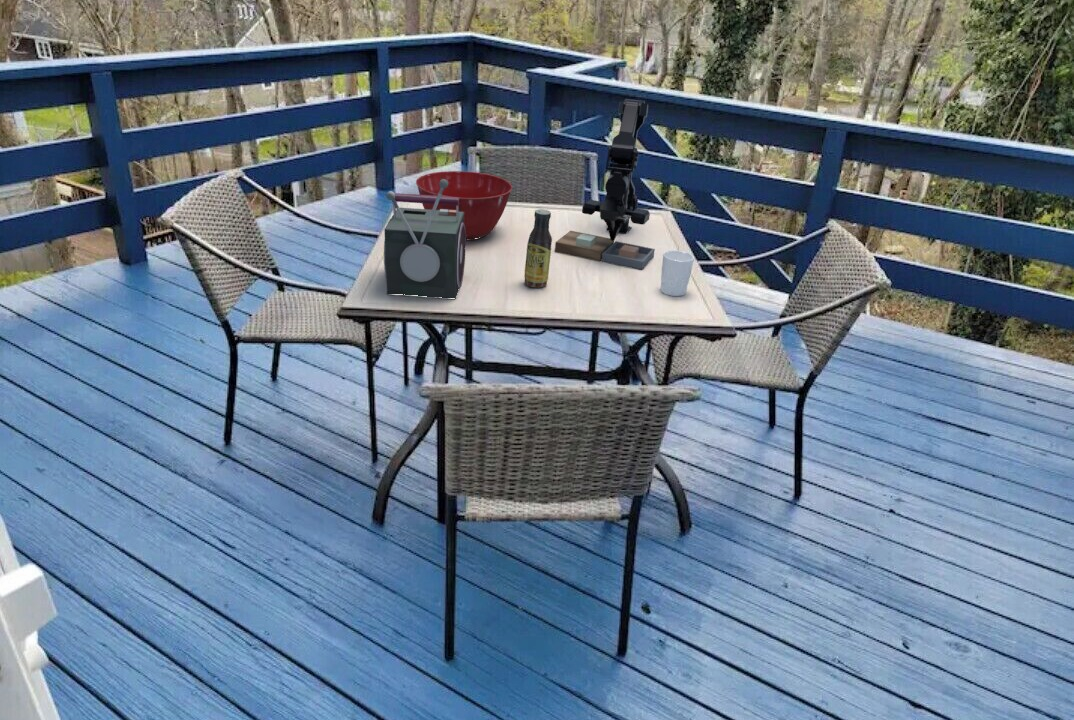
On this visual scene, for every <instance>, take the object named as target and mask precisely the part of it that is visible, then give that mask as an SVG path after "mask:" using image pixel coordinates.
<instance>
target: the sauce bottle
mask: <svg viewBox="0 0 1074 720" xmlns="http://www.w3.org/2000/svg"><path fill="white" fill-rule="evenodd" d="M551 218H552V212H551V211H550V210H548V209H541V208H539V209H536V210H535V211H534V225H533V229H532V230H531V232H530V233H529V237H528V240H527V245H526V254H525V255H526V257H525V264H524V284H525V286H528V287H530V288H535V289H540V288H544V287H546V286H547V283H548V280H549V274H550V273H549V272H550V263H551V254H552V243H553V242H552V241H553V237H552V235H551V231H550V230H549V229H550V219H551Z"/></svg>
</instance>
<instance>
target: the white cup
mask: <svg viewBox="0 0 1074 720" xmlns="http://www.w3.org/2000/svg"><path fill="white" fill-rule="evenodd" d="M694 261H695V257H694V255H693V254H691V253H689V252H687V251H683V250H675V249H674V250H671V249H670V250H667V251H664V252H663V255H662V265H661V275H660V288H659V289H660V291H661V293H663V294H665V295H668V296H670V297H671V296H672V297H681V296H684V295H686V293H687V289H688V285H689V281H690V278H691V274H692V269H693V265H694Z"/></svg>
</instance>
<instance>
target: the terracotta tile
mask: <svg viewBox="0 0 1074 720" xmlns="http://www.w3.org/2000/svg"><path fill="white" fill-rule="evenodd" d="M638 253H639V248H638V247H633V246H628V245H624V246H623V247H622V248H620V250H619V256H622V257H627V258H632V259H634V258H635V257H636V256H637V255H638Z"/></svg>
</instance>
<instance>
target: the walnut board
mask: <svg viewBox="0 0 1074 720" xmlns="http://www.w3.org/2000/svg"><path fill="white" fill-rule="evenodd" d="M581 234H586V235H591V236H596V242H595V244H594V245H593V246H591V247H585V246H580V245H576V238H577V237H578V236H579V235H581ZM614 242H615V240H614V241H611V239H610V237H605V236H600V235H594V234H590V233H585V232H580V231H574V230H569V231H568V232H566V233H565V234H564V235H563V236H561V237H560V238H559V239H558V240H557V241H555V246H554V252H555V253H557V254H558V253H559V254H563V255H568V256H572V257H576V258H577V257H578V258H582V259H586V260H587V259H588V260H592V261H596V262H602V254H603V253H604V252H605V251H606V250H607V249H608V248H609V247H610V246H611V245H612V244H613V243H614Z"/></svg>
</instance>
